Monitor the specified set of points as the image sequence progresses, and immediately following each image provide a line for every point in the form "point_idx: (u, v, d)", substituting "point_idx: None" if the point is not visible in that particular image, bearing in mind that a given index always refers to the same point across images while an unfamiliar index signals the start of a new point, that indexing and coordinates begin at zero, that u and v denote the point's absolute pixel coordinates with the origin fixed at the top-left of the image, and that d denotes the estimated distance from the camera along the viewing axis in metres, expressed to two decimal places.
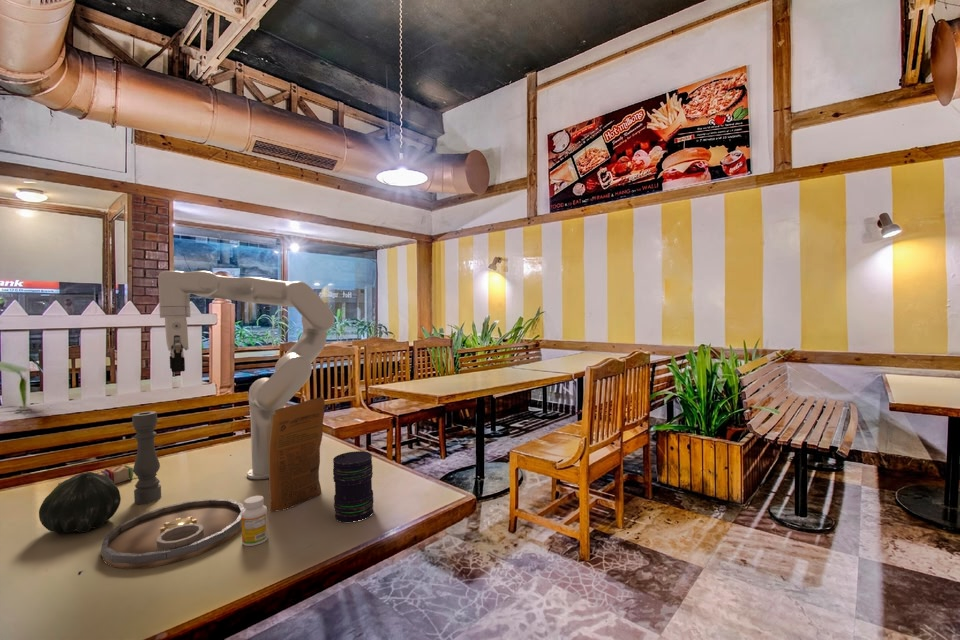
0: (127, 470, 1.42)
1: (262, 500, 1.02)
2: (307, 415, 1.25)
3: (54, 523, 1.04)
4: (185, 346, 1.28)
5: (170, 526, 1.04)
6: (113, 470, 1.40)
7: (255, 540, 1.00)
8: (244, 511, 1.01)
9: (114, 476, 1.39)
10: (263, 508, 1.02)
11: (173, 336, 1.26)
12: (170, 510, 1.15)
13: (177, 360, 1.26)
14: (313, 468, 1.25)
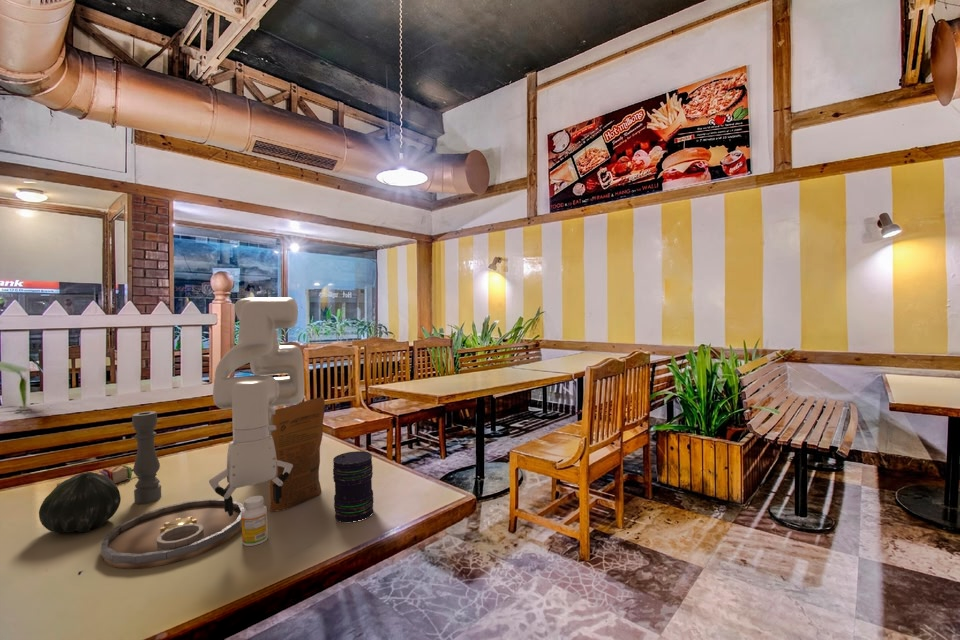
0: (126, 470, 1.42)
1: (262, 500, 1.02)
2: (307, 415, 1.25)
3: (54, 523, 1.04)
4: None
5: (170, 526, 1.04)
6: (111, 470, 1.41)
7: (255, 540, 1.00)
8: (244, 511, 1.01)
9: (113, 476, 1.39)
10: (263, 508, 1.02)
11: None
12: (170, 510, 1.15)
13: None
14: (313, 468, 1.25)
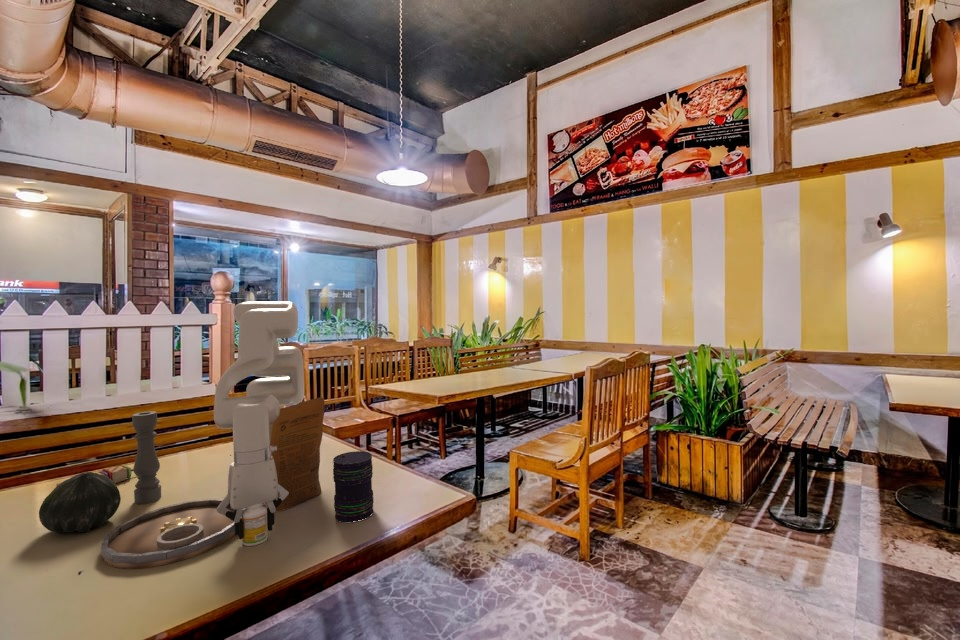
0: (125, 470, 1.42)
1: None
2: (307, 415, 1.25)
3: (54, 523, 1.04)
4: None
5: (170, 526, 1.04)
6: (111, 470, 1.41)
7: (255, 540, 1.00)
8: (244, 511, 1.01)
9: (112, 476, 1.39)
10: (264, 508, 1.02)
11: None
12: (170, 510, 1.15)
13: None
14: (313, 468, 1.25)
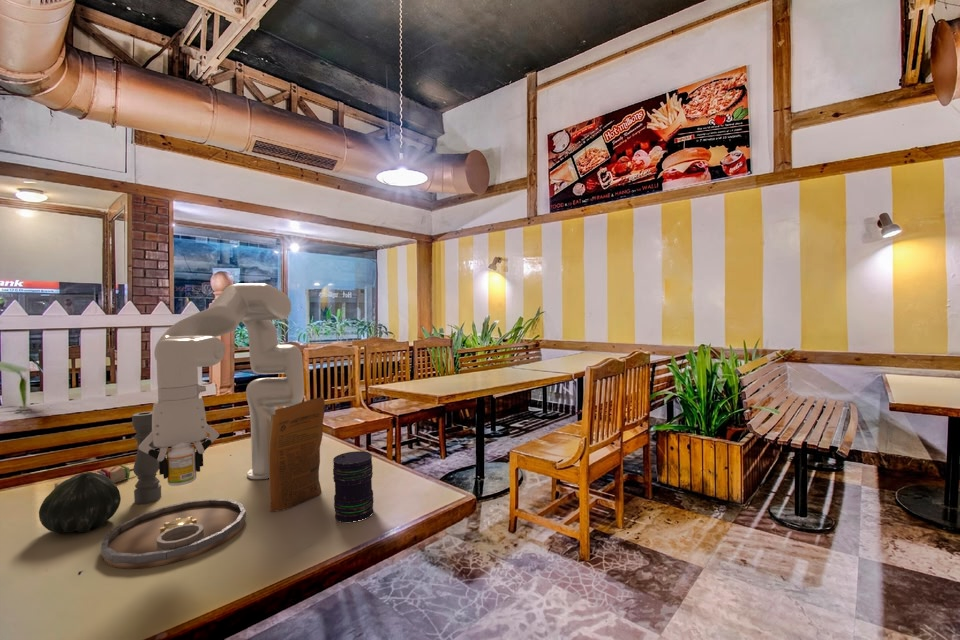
0: (124, 470, 1.42)
1: None
2: (307, 415, 1.25)
3: (54, 523, 1.04)
4: None
5: (170, 526, 1.04)
6: (109, 470, 1.41)
7: (180, 480, 0.97)
8: (169, 450, 0.98)
9: (111, 476, 1.39)
10: (191, 448, 0.99)
11: None
12: (170, 510, 1.15)
13: None
14: (313, 468, 1.25)
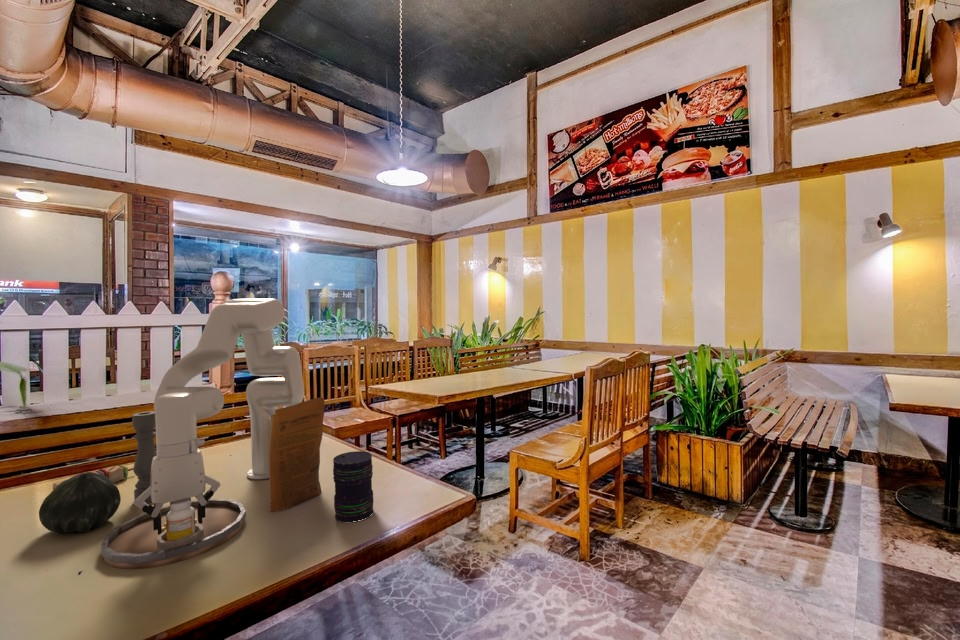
0: (122, 470, 1.42)
1: (189, 502, 0.99)
2: (307, 415, 1.25)
3: (54, 523, 1.04)
4: None
5: None
6: (108, 470, 1.41)
7: None
8: (169, 513, 0.98)
9: (109, 476, 1.40)
10: (190, 510, 0.99)
11: (204, 474, 1.01)
12: (170, 510, 1.15)
13: None
14: (313, 468, 1.25)
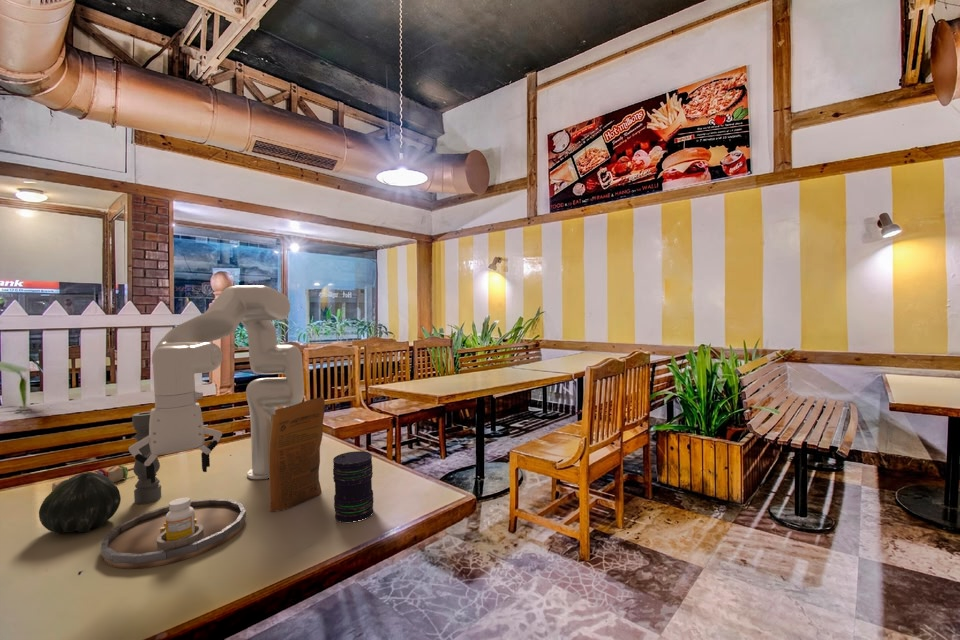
0: (121, 470, 1.42)
1: (188, 502, 0.99)
2: (307, 415, 1.25)
3: (54, 523, 1.04)
4: None
5: None
6: (107, 470, 1.41)
7: None
8: (168, 513, 0.98)
9: (108, 476, 1.39)
10: (189, 510, 0.99)
11: (203, 427, 1.01)
12: None
13: None
14: (313, 468, 1.25)
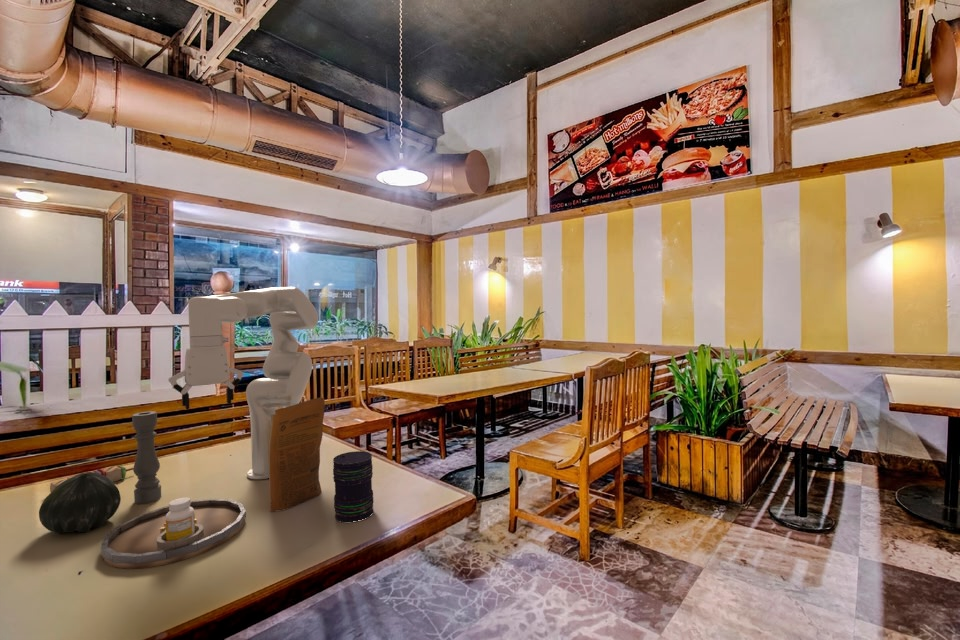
0: (120, 470, 1.42)
1: (188, 502, 0.99)
2: (307, 415, 1.25)
3: (54, 523, 1.04)
4: None
5: None
6: (106, 470, 1.41)
7: None
8: (168, 513, 0.98)
9: (106, 476, 1.40)
10: (189, 510, 0.99)
11: (228, 366, 1.21)
12: None
13: None
14: (313, 468, 1.25)
